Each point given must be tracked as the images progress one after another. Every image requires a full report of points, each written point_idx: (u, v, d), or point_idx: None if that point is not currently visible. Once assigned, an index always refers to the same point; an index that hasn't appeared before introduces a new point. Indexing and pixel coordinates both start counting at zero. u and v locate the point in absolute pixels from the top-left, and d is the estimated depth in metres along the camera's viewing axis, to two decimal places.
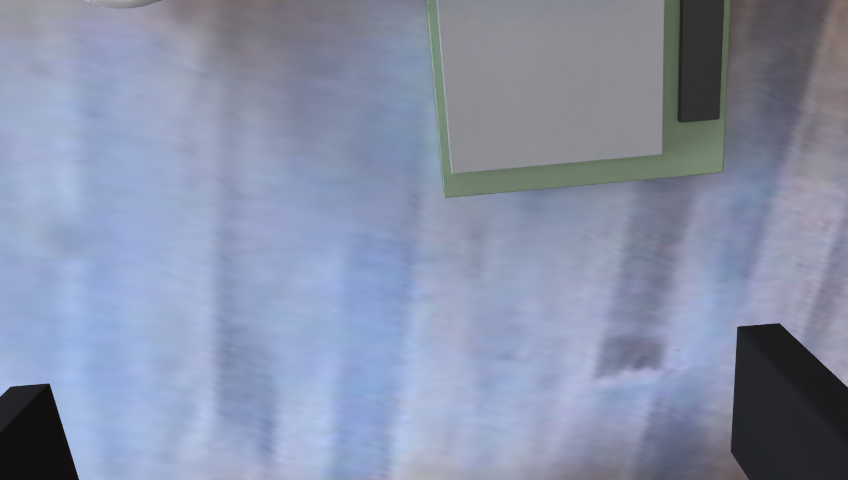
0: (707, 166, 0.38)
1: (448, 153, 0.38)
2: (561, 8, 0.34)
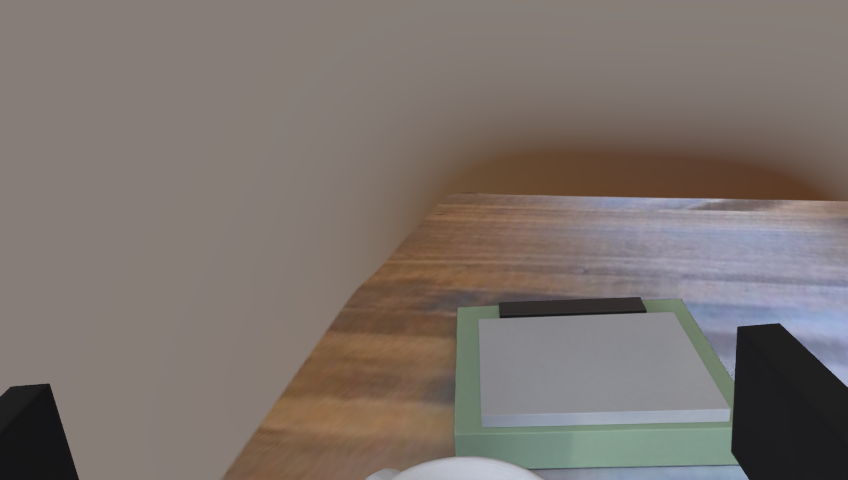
0: (678, 303, 0.50)
1: (711, 422, 0.37)
2: (566, 354, 0.43)
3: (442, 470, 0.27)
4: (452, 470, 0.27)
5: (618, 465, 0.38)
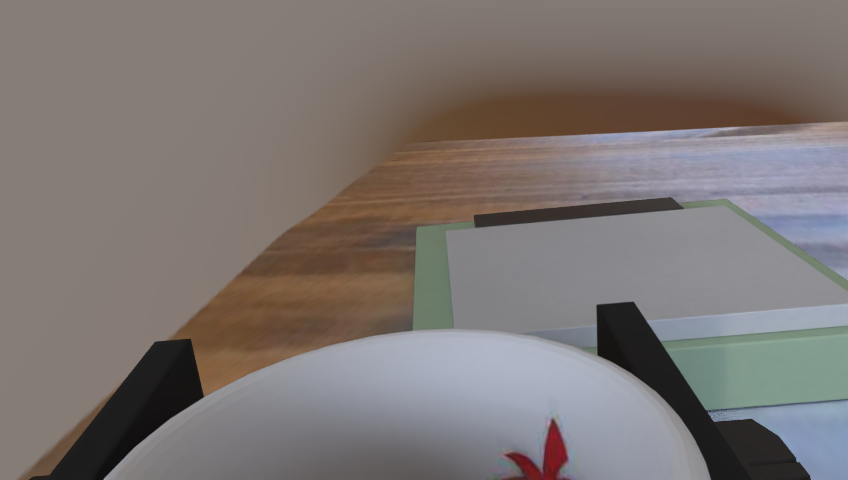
0: (724, 203, 0.35)
1: (833, 328, 0.23)
2: (580, 257, 0.28)
3: (345, 365, 0.12)
4: (367, 363, 0.12)
5: None
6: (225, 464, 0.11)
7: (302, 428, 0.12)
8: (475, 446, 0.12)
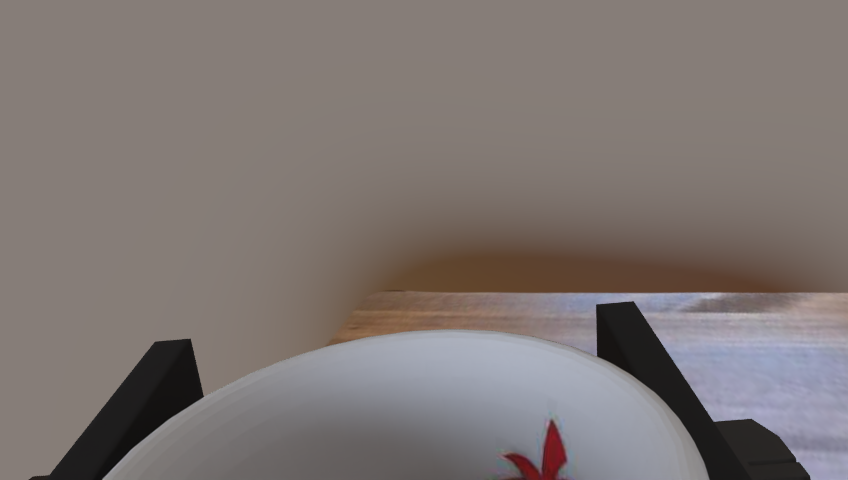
0: None
1: None
2: None
3: (343, 365, 0.12)
4: (366, 364, 0.12)
5: None
6: (223, 465, 0.11)
7: (300, 429, 0.12)
8: (474, 447, 0.12)
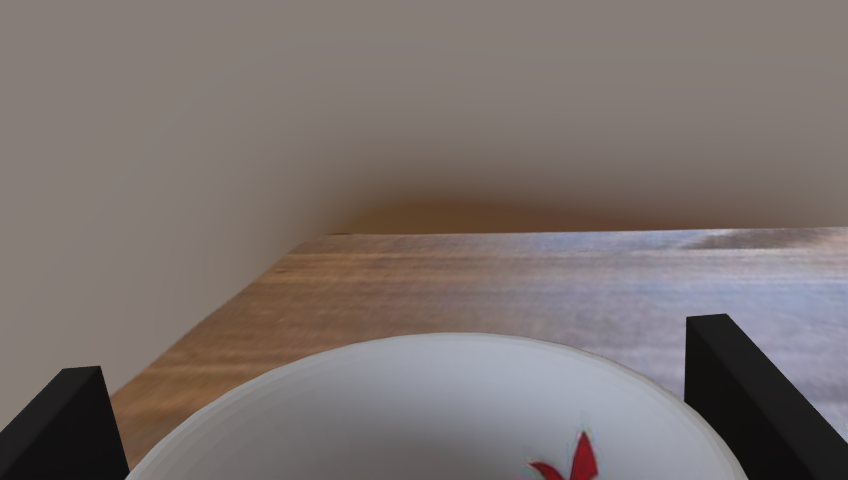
0: None
1: None
2: None
3: (370, 364, 0.12)
4: (393, 363, 0.12)
5: None
6: (248, 462, 0.11)
7: (325, 427, 0.12)
8: (499, 453, 0.12)
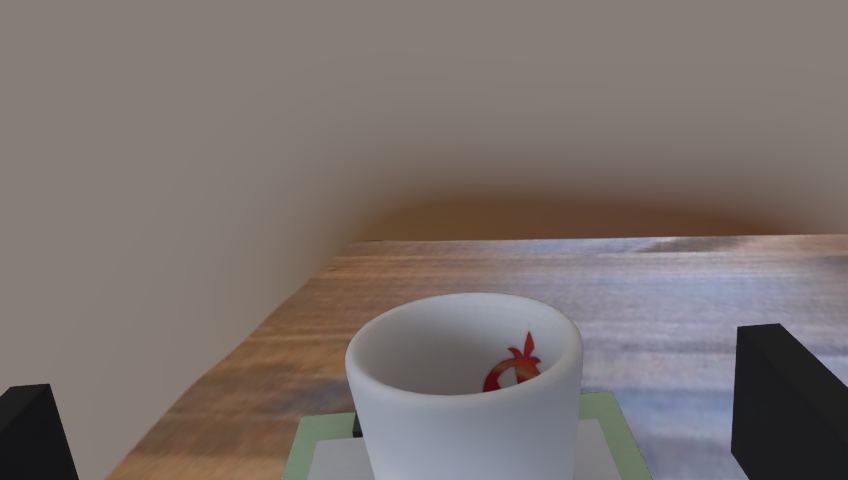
0: (607, 400, 0.35)
1: None
2: None
3: (436, 306, 0.27)
4: (446, 306, 0.27)
5: None
6: (388, 344, 0.26)
7: (417, 333, 0.27)
8: (493, 345, 0.27)
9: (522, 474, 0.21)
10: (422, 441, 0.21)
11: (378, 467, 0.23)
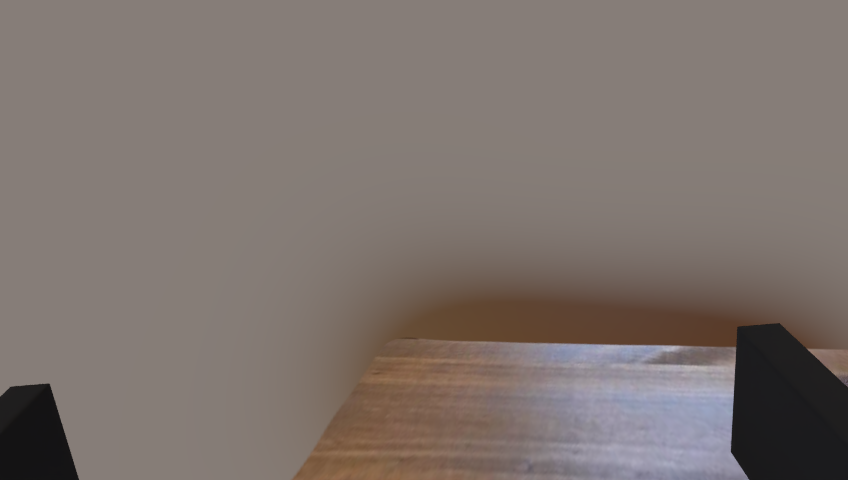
0: None
1: None
2: None
3: None
4: None
5: None
6: None
7: None
8: None
9: None
10: None
11: None
